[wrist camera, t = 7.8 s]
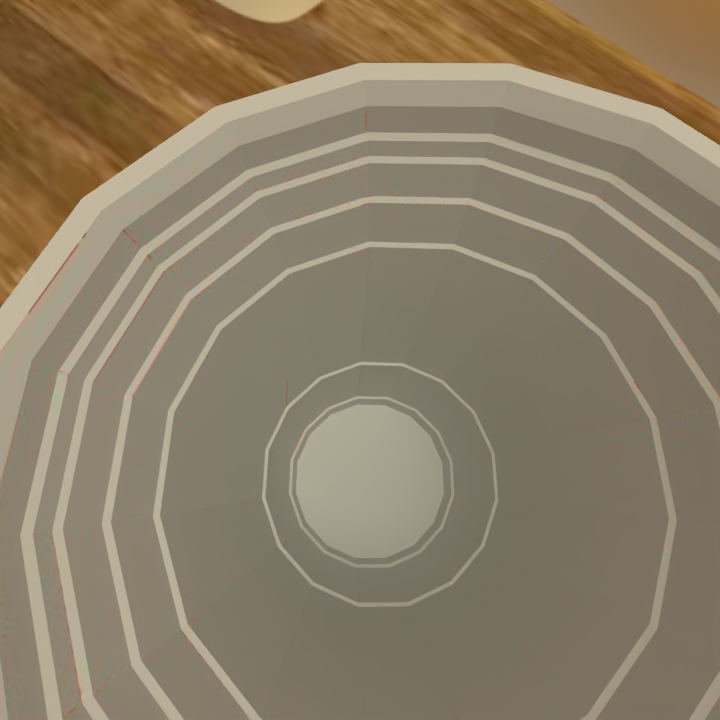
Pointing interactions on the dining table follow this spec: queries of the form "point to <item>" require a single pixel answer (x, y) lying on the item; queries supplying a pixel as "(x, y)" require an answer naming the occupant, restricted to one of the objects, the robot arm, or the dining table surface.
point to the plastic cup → (373, 414)
